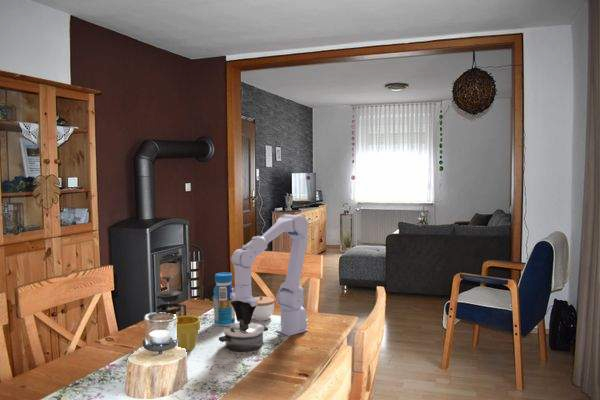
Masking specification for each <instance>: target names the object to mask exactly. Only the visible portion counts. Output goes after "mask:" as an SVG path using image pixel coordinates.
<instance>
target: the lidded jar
mask: <svg viewBox="0 0 600 400" xmlns="http://www.w3.org/2000/svg"><path fill="white" fill-rule="evenodd" d="M253 297H254V296H253ZM254 298H255V299H256V300H257V306H256V308H255V310H254V312H253V315H252V318H253V319H254V320H255V321H262V322H263V321H267V320H269V319H270V317H271V316H272V315H273V313H274V309H275V299H274V297H269V296H263V295H260V296H255V297H254Z"/></svg>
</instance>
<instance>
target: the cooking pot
mask: <svg viewBox="0 0 600 400" xmlns="http://www.w3.org/2000/svg"><path fill="white" fill-rule="evenodd" d="M263 326H264V332H267V331H269V327H267V326H265V325H263ZM264 332H263V333H262V334H260V335H258V336H254V337H248V338H235V337H229V336H227V335H225V334H224V335H223V336H219V337H218V341H220V343H225V349H227V350H229V351H231V352H239V353H247V352H248V353H249V352H253V351H257V350H259V349H261V348H262V347H263V345H264Z"/></svg>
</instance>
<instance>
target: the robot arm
mask: <svg viewBox="0 0 600 400" xmlns="http://www.w3.org/2000/svg"><path fill="white" fill-rule="evenodd" d="M309 225H310V223H309V222H308V220H307V218H306V217H305V216H304V215H299V214H298V215H297V214H296V215H295V214H289V213H285V214H282V215H281V216H280V217H278V218H277V220H276V222H275V223H274V224H273V225H272V226H271V227H269V228H268V229H267V230H266V232H264V233H263V234H262V235H261V236H260V235H256V236H255V235H254V236H252V237H251V240H250V241H249V242H247V243H246V244H243V245H242V246H241V248H238V249H235V250H234V251H233V253H232V255H231V257H230V261H231V262H230V263H232V264H233V269H234V292H233V293H230V298H231V299H232V300H234V301H232V302H231V305H232V306H233V308H234V311H235V319H236V320H237V322H238V323H239V319H240V318H243V319H244V324H245V325H247V324H250V323H252V318H253V317H252V315H253V312H254V310H255V308H256V306H257V300H256V299H255V298H254V296H253V295H252V266H253V265H254V263H255V260H256V259H257V257H259V256H260V255H261V254H262V253H263V252H264V251H265V250H267V249H268V244H270V242H272V241H273V240H274V239H276V238H277V237H279V236H280V235H281V234H282V233H286V234H287V235H288V236H289V237H290V239H291V240H292V244H291V249H290V256H289V260H288V266H287V270H286V276H285V281H284V282H283V283H281V284H280V286H279V289H278V291H277V294H276V297H275V298H276V302H277V304H278V305H279V308H280V328H277V329H275V331H276V332H278V333H279V334H282V335H285V336H288V337H289V336H294V335H297V334H300V333H305V332H308V331H309V329H308V327H307V311H306V309H305V307H303V305H304V302H305V298H304V293H305V292H304V291H305V290H304V288H303V287H302V285H301V278H302V273H303V267H304V261H305V257H306V250H307V245H308V239H309V235H308V233H309V232H308V231H309V230H308V229H309Z"/></svg>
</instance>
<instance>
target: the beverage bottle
mask: <svg viewBox="0 0 600 400" xmlns="http://www.w3.org/2000/svg"><path fill="white" fill-rule="evenodd" d="M214 282H215V283H216V284H215V286H214V288H213V297H212V300H213V314H214V317H213V318H214V321H213V323H214V325H215V326H218V327H227V326H229V325H232V324H236V323H235V322H236V314H235V311H234V308H233V306H232V305H231V302H232V301H234V300H232V299H231V298H230V293H233V292H235V287H234V286H233V284H232V282H233V274H232V273H231V272H227V271H226V272H225V271H223V272H218V273H215V275H214Z"/></svg>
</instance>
